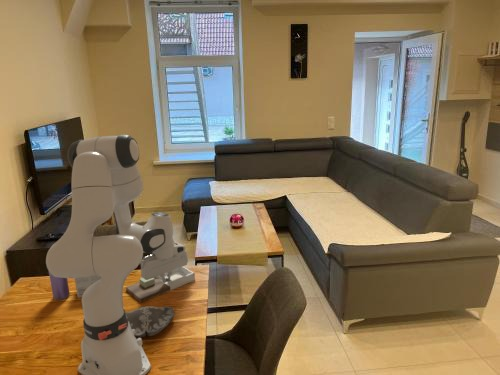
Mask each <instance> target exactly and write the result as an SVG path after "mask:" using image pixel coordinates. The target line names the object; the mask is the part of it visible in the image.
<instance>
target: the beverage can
mask: <svg viewBox="0 0 500 375" xmlns="http://www.w3.org/2000/svg"><path fill="white" fill-rule="evenodd" d="M48 276H49V281H50V286H51V291H52V292H51V293H52V297H53V299H54V300H56V301H62V300H65V299H67V298H69V297H70V287H69V280H68V278H59V277H54V276H53V275H52V274H51V273H50V272H49V271H48Z"/></svg>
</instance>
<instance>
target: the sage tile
mask: <svg viewBox="0 0 500 375" xmlns="http://www.w3.org/2000/svg"><path fill="white" fill-rule="evenodd" d="M138 280H139V282H140V284H141V285H142V286H143V287H145V288H146V287H148V286H151V285H153V284H155V280H154V278H151V279H149V280H145V279H144V278H142V277H140V278H139V279H138Z"/></svg>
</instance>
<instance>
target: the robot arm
mask: <svg viewBox="0 0 500 375" xmlns="http://www.w3.org/2000/svg"><path fill="white" fill-rule="evenodd" d="M66 154H67V161H68V163H69V165H70V167H71V168H72V169H71V170H72V171H71V215H70V217H71V218H70V220H69V224H68V225H67V227H66V230H65V232H64V233H63V235H62V236H61V237H60V238H59V239H58V240H57V241H56V242H54V243H53V244H52V245H51V247H50V248H48V251H47V253H46V258H45V264H46V269H47V270H48V273H49V272H50V273H51V274H52V275H53V276H54V277H59V278H67V279H75V278H79V277H88V276H96V275H97V276H101V279H100V280H99V281H97V282H95V283H94V284H92V285H91V286H89V287H88V288H87V289H86V290H85V292H84V293H83V295H82V297H81V306H82V311H83V312H82V313H83V325H82V326H83V327H82V328H83V330H84V336H83V339H82V340H81V343H80V348H81V349H80V350H81V357H82V358H81V359H82V362H81V363H80V364H79V365H78V367H77V371H78V373H79V374H81V375H146V374H147V373H149V372H150V370H151V368H152V365H151V362H150V361H149V360H150V359H149V358H148V356H147V355H146V352H145V351H144V348H143V346H142V345H143V339H142V337H135V336H134V334H135V333H136V332H135V329H131V327H130V324H129V322H128V320H127V315H126V312H127V311H126V310H125V308H124V301H123V300H124V296H123V290H124V289H123V288H124V285H125V282H126V280H127V278H128V277H129V276H130V274H131V273H132V272H133V271H135V270H136V269H137V268H138V266H140V276H141V278H144V279H145V280H149V279H151V278H154V277H156V276H159V275H160V277H161V278H162V281H163V283H165V282H168V281H170V277H171V275H172V270H175V269H177V268H180V267H186V266H187V265H188V263H189V258H188V252H187V251H186V246H185V245H184V244H182V243H179V242H177V241H174V236H173V235H174V225H173V221H172V217H171V215H170V214H168V213H165V212H157V211H156V212H153V213H151V214H150V216H149V219H148V221H147V222H146V223H144V225H141V224H137V223H136V222H135V221H134V220H133V219H132V215H131V209H130V206H129V204H130V203H132V202H134V201H135V200H137V199H138V198H139V197H140V196H141V195H142V193H143V191H144V182H143V178H142V176H141V172H140V169H139V167H138V165H137V164H138V163H137V162H138V161H139V160H140V148H139V145H138V142H137V141H136V139H135V138H134V137H132V135H128V134H119V135H105V136H102V135H100V136H95V137H90V138H86V139H79V140H76V141H74V142H72V143H71V144H70V145H69V147H68V149H67V153H66ZM112 216H113V219H114V223H115V234H110V235H101V236H94V232H95V230H96V228H97V227H99V226H100V225H103V223H106V222H107V221H108V220H110V219H111V218H112ZM144 253H145V254H146V253H147V254H150V255H147V256H144ZM167 272H168V274H167V276H166V277H164V275H165V274H164V273H167Z"/></svg>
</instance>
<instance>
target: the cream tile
mask: <svg viewBox="0 0 500 375" xmlns="http://www.w3.org/2000/svg"><path fill="white" fill-rule="evenodd" d="M178 278H181V277H180V276H179V275H177V274H175V275H172V276H171V277H170V281H168V283H169V282H171V281H173V280H176V279H178Z"/></svg>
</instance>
